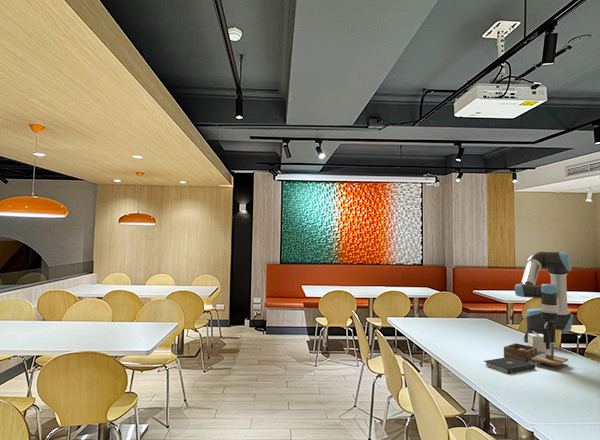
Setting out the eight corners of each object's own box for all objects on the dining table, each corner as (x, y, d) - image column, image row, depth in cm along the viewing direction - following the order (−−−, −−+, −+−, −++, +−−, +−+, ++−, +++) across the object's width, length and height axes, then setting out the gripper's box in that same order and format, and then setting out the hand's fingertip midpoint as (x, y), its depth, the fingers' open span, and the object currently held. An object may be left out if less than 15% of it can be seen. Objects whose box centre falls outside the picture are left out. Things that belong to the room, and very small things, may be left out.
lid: (542, 356, 223) (542, 339, 223) (568, 362, 213) (567, 344, 213) (531, 361, 212) (531, 343, 213) (557, 367, 202) (557, 348, 203)
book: (508, 375, 195) (508, 369, 195) (483, 366, 209) (483, 360, 209) (535, 370, 205) (535, 364, 205) (509, 362, 218) (509, 356, 218)
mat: (542, 359, 222) (542, 358, 222) (568, 365, 212) (568, 364, 212) (531, 364, 212) (531, 363, 212) (558, 371, 202) (558, 370, 202)
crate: (515, 352, 236) (515, 343, 236) (536, 357, 226) (536, 347, 227) (503, 357, 226) (503, 346, 226) (525, 362, 216) (525, 351, 217)
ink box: (548, 356, 230) (548, 334, 231) (533, 355, 232) (532, 333, 232) (542, 352, 238) (542, 331, 239) (527, 351, 240) (527, 330, 241)
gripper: (547, 309, 222) (547, 350, 221) (536, 312, 212) (536, 355, 211) (561, 311, 216) (562, 353, 215) (551, 314, 206) (552, 358, 205)
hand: (549, 354), depth 213 cm, fingers closed on lid, 3 cm apart
